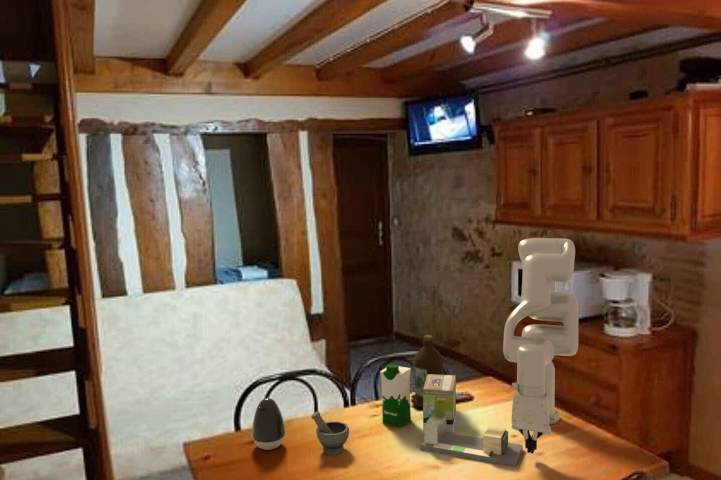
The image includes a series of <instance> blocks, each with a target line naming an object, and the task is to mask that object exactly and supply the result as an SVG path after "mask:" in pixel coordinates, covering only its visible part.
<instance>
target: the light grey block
mask: <svg viewBox="0 0 721 480" xmlns="http://www.w3.org/2000/svg"><path fill="white" fill-rule="evenodd" d="M423 434H424V440H425V444H428V445H433V446H434V445H435V446H438V445H439V443H440V442H441V441H442V439H443V438H444V437H445V435H446V434H447V431H446V415H441V414H433V415H432V416H431V417H430V419H429V420H428V421H427V422H426V423H425V425H424V433H423Z"/></svg>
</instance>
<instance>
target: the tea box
mask: <svg viewBox="0 0 721 480" xmlns="http://www.w3.org/2000/svg"><path fill="white" fill-rule="evenodd" d="M456 383H457V376H456V375H453V374H452V375H451V374H443V375H434V374H427V377H426V381H425V385H424V388H423V408H422V412H423V413H422V433H423V434H425V433H424V425H425V423H426V422H427V421H428V420H429V419H430V417H431V416H432V415H433V414H441V415H446V431H447V433H453V434H454V431H455V427H456V426H455V424H456V417H457V412H456V411H457V410H456V409H457V402H456V401H457V384H456Z"/></svg>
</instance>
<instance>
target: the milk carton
mask: <svg viewBox="0 0 721 480" xmlns="http://www.w3.org/2000/svg"><path fill="white" fill-rule="evenodd" d="M411 372H412V369H411V367H406V366H400V365H399V364H397V363H388V364H386V366H385V368H383V369H382V370H380V371H379V375H380V379H381V404H382V406H381V407H382V408H381V410H382V424H384V425H388V426H392V427H396V428H400V429H401V428H403V427H404V426H405V425H407V424H408V423H409V422H410V421H411V420H412V416H411V415H412V414H411V391H410V390H411V389H410V388H411V387H410V386H411V384H410V380H411Z"/></svg>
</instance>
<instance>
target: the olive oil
mask: <svg viewBox="0 0 721 480" xmlns="http://www.w3.org/2000/svg"><path fill="white" fill-rule="evenodd" d="M422 338H423V340H422V342H423V343H422V345H423V346H422V347H421V348H420V349H419V350H418V351H417V352H416V354H415V355H414V357H413V360H412V361H413V362H412V363H413V364H412V368H413V377H414V378H413V379H414V393H415V405H416V404H417V405H419V406H421V407H423V388H424V385H425V381H426V377H427V374H434V375H444V359H443V357H442V355H441V353H440V352H439V351H438V350H437V349H436V348H435V347H434V343H433V336H432V335H431V334H425V335H423V337H422ZM417 405H416V406H417Z"/></svg>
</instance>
